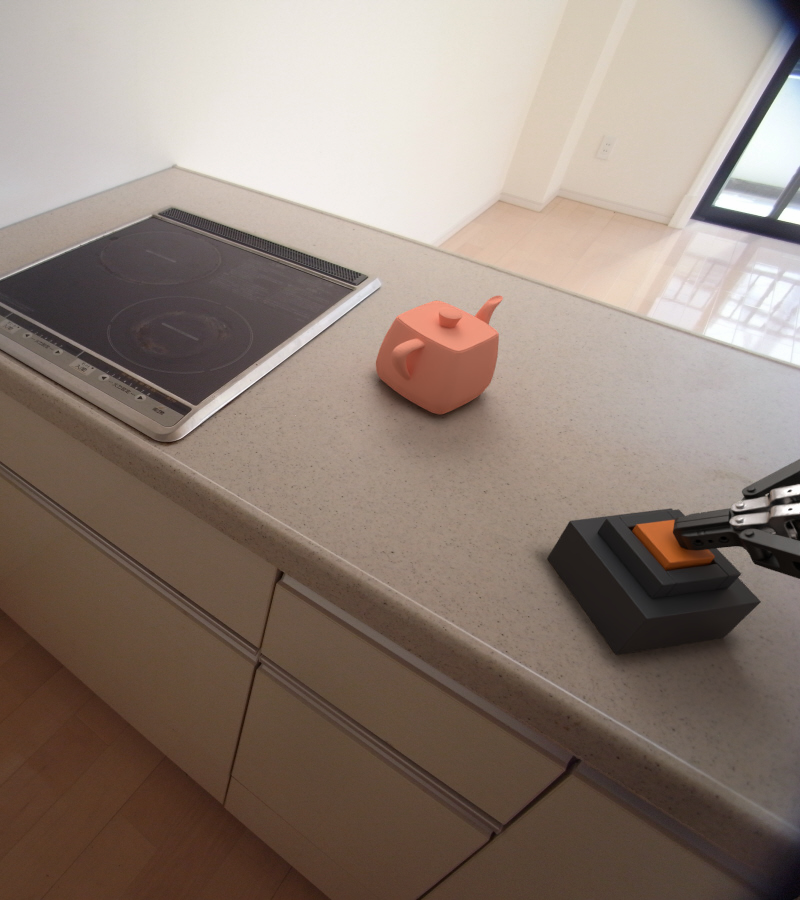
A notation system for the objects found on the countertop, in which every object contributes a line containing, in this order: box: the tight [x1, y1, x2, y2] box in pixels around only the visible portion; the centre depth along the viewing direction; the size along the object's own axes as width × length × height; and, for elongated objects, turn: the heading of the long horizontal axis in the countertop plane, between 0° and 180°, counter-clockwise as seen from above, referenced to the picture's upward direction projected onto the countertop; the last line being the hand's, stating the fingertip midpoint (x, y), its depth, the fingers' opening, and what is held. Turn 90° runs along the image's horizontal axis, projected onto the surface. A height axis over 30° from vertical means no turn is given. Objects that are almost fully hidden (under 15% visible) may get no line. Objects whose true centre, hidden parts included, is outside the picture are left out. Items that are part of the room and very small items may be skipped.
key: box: [632, 520, 715, 571], centre depth 52 cm, size 4×4×2 cm
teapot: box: [375, 295, 504, 415], centre depth 76 cm, size 12×18×10 cm, turn 125°
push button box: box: [547, 507, 762, 656], centre depth 54 cm, size 10×10×7 cm
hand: (677, 534), depth 51 cm, fingers closed
